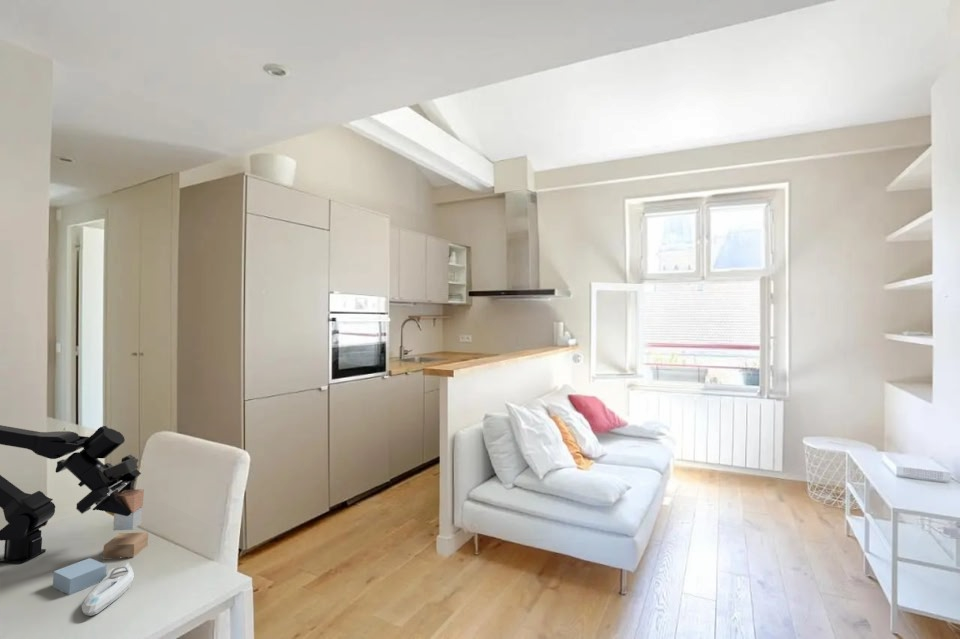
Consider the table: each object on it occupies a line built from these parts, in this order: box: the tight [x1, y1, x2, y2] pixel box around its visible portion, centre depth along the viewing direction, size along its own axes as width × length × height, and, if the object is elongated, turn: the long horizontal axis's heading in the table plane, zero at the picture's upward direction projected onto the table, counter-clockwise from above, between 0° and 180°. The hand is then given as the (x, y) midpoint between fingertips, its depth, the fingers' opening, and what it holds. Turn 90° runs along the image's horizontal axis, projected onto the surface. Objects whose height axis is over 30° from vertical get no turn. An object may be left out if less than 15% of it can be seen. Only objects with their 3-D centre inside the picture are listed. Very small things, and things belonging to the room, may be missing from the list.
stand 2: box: [102, 531, 149, 559], centre depth 121 cm, size 7×7×4 cm
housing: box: [112, 488, 145, 531], centre depth 121 cm, size 4×4×9 cm
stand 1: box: [52, 557, 107, 596], centre depth 106 cm, size 7×7×4 cm
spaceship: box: [81, 561, 135, 617], centre depth 104 cm, size 23×7×4 cm, turn 22°
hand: (134, 511), depth 121 cm, fingers closed on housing, 4 cm apart
